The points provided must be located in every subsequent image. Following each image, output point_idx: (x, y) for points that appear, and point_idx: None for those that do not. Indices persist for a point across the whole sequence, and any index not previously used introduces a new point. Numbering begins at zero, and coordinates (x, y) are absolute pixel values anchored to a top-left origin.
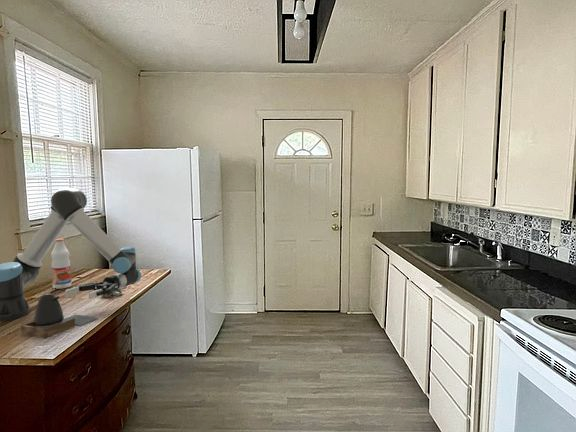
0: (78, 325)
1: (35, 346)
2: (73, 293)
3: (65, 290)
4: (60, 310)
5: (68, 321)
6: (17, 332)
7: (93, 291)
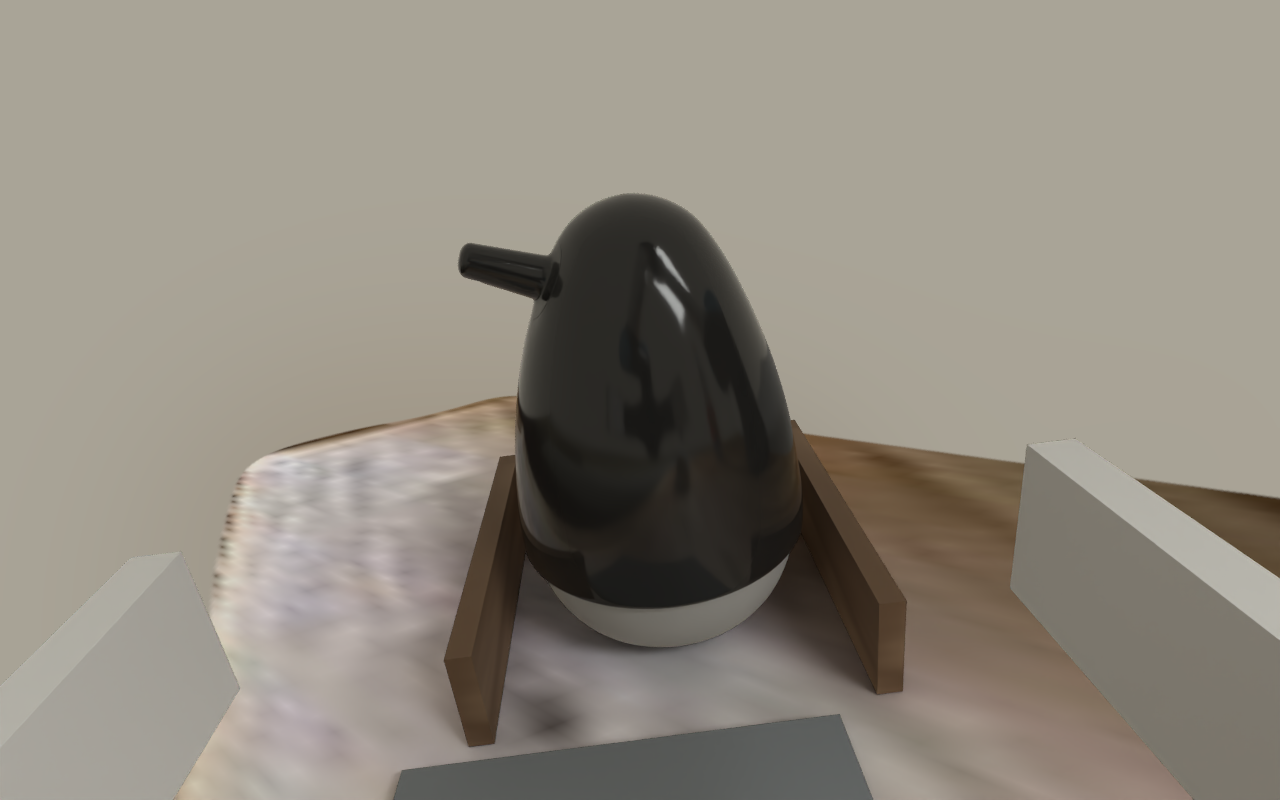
0: (436, 773)
1: (477, 466)
2: (1172, 744)
3: (1063, 440)
4: (521, 449)
5: (463, 601)
6: (866, 483)
7: (63, 674)
